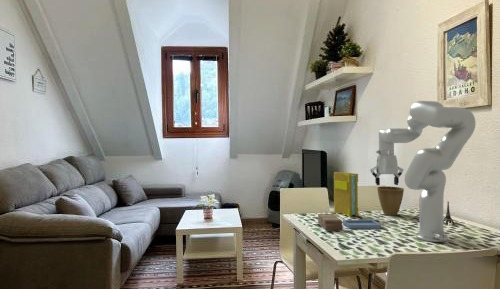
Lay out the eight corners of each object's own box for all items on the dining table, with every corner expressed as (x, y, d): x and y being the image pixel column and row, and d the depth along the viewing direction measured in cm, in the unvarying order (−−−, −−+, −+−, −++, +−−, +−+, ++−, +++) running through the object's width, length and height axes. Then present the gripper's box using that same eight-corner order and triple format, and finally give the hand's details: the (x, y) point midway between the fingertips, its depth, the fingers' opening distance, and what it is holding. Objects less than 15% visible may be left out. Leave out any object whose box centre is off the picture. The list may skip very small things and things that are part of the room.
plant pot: (372, 213, 206) (371, 187, 206) (391, 211, 211) (390, 185, 211) (390, 217, 192) (389, 190, 192) (409, 215, 197) (409, 188, 197)
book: (358, 216, 197) (358, 173, 197) (349, 217, 195) (348, 174, 195) (340, 211, 213) (340, 171, 213) (331, 211, 211) (331, 172, 211)
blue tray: (381, 228, 168) (381, 224, 168) (349, 229, 167) (349, 225, 167) (372, 223, 179) (372, 219, 179) (342, 223, 178) (342, 220, 178)
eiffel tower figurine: (468, 225, 175) (468, 200, 175) (461, 228, 168) (461, 202, 168) (437, 220, 186) (437, 196, 186) (430, 223, 180) (429, 198, 180)
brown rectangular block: (342, 230, 165) (342, 220, 165) (325, 230, 164) (325, 221, 164) (333, 222, 181) (333, 214, 181) (318, 223, 181) (318, 214, 181)
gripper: (372, 153, 175) (373, 185, 174) (406, 152, 175) (406, 185, 174) (367, 152, 182) (368, 184, 182) (399, 152, 182) (400, 184, 182)
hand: (387, 184), depth 178 cm, fingers open, 9 cm apart
